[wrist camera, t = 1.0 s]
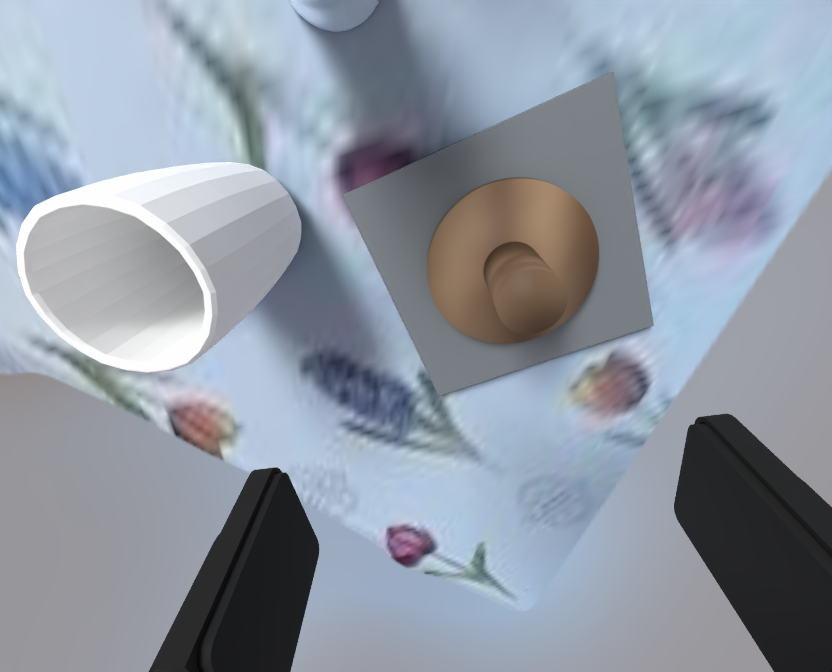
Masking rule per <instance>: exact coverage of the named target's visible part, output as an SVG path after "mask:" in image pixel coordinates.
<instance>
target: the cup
mask: <svg viewBox="0 0 832 672" xmlns="http://www.w3.org/2000/svg"><path fill="white" fill-rule="evenodd" d="M300 240H301V220H300V217H299V214H298V211H297V208H296V206H295V204H294V202H293V200H292V199H291V197H290V195H289V193H288V192H287V191H286V190H285V189H284V188H283V186H282V185H281V184H280V183H279V182H278V181H277V180H276V179H275V178H273V177H272V176H271V175H269V174H268V173H267V172H265V171H264V170H262V169H259V168H256V167H254V166H251V165H248V164H241V163H234V162H216V163H200V164H191V165H183V166H176V167H169V168H163V169H157V170H151V171H145V172H139V173H133V174H129V175H125V176H121V177H116V178H112V179H108V180H104V181H100V182H97V183H94V184H91V185H87V186H84V187H81V188H78V189H75V190H72V191H69V192H66V193H63V194H60V195H57V196H54V197H52V198H50V199H48V200H46V201H44V202H42V203H40V204H38V205H36V206H34V207H33V209H32V210H31V212H30V213H29V215H28V216H27V218H26V219H25V221H24V222H23V223H22V226H21V230H20V233H19V237H18V240H17V244H16V253H17V265H18V273H19V276H20V279H21V282H22V285H23V289H24V292H25V295H26V296H27V297H28V299H29V300H30V302H31V303H32V305H33V306H34V308H35V309H36V311H37V312H38V313H39V315H40V316H41V317H42V318H43V319H44V320H45V322H46V323H47V324H48V325H49V326H50V327H51V328H52V329H53V330H54V331H55V332H56V333H57V334H58V335H59V336H60V337H61V338H63V339H64V340H65V341H67V342H68V343H70V344H71V345H72V346H74V347H75V348H76V349H78V350H79V351H81V352H82V353H84V354H86V355H88V356H90V357H92V358H93V359H95V360H97V361H99V362H101V363H103V364H106V365H110V366H114V367H117V368H121V369H124V370H130V371H139V372H148V373H154V372H163V371H171V370H175V369H178V368H180V367H183V366H186V365H189V364H191V363H193V362H194V361H195V360H196V359H198V358H199V357H200V356H201V355H203V354H204V353H205V352H206V351H208V350H209V349H210V348H212V347H213V346H214V345H215V344H217V343H218V342H219V341H220V340H221V339H222V338H223V337H224V336H225V335H227V334H228V333H229V332H230V331H231V330H232V329H233V328H234V327H235V326H236V325H237V324H238V323H239V322H241V321H242V320H243V319H244V318H245V317H246V316H247V315H248V314H249V313H250V312H251V311H252V310H253V309H254V308H255V307H256V306H257V305H258V304H259V302H260V301H261V300H262V299H263V298H264V297H265V296H266V295H267V293H268V292H269V291H270V290H271V289H272V287H273V286H274V285H275V284H276V282H277V281H278V280H279V278H280V277H281V276H282V274H283V273H284V272H285V270H286V269H287V267H288V266H289V264H290V263H291V261H292V259H293V258H294V256H295V255H296V253H297V251H298V248H299V244H300Z"/></svg>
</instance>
